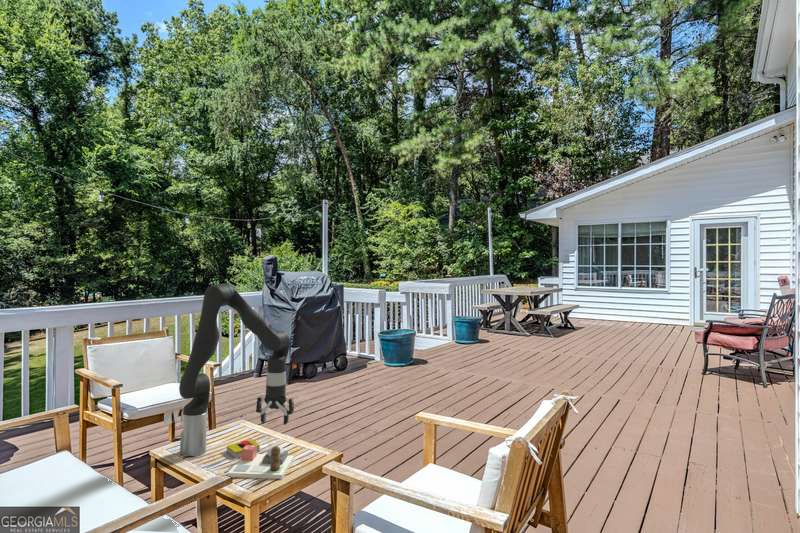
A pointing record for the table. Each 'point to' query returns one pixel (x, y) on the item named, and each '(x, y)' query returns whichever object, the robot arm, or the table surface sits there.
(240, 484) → the table surface
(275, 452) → the pawn
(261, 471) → the board
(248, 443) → the emergency button
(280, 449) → the dome
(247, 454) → the die
